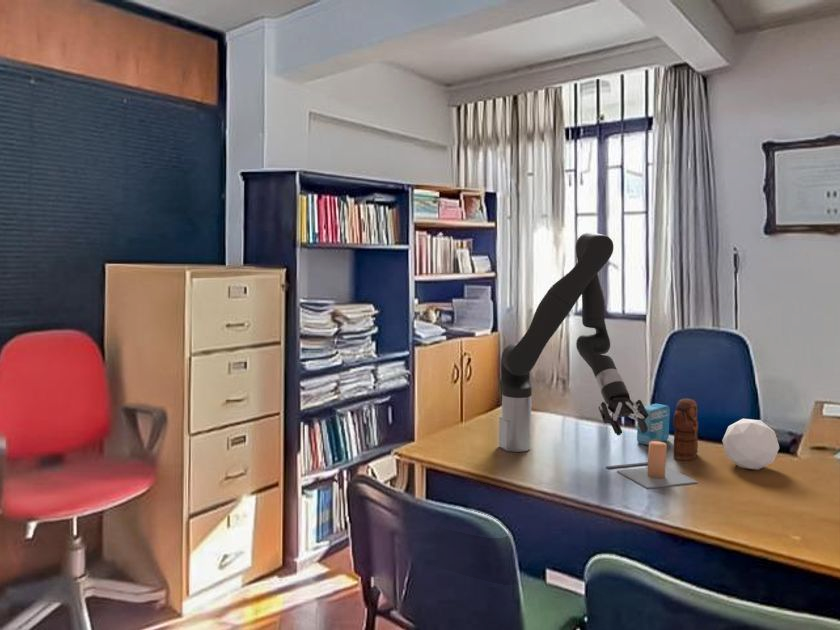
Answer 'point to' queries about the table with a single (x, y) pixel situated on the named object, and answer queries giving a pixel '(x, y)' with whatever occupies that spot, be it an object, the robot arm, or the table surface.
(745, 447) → the geometric sphere
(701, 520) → the table surface
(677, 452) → the wooden figurine
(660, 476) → the throwing cylinder
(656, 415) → the data package
